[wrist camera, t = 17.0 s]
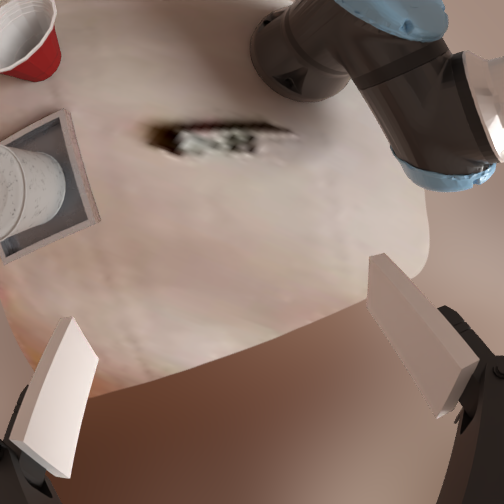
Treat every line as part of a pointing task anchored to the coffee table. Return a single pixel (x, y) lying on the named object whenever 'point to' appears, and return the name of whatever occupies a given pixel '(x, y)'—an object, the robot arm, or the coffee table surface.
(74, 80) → the coffee table surface
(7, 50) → the plastic cup
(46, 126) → the grey square tray
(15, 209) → the speckled white cylinder
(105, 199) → the coffee table surface
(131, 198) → the coffee table surface
